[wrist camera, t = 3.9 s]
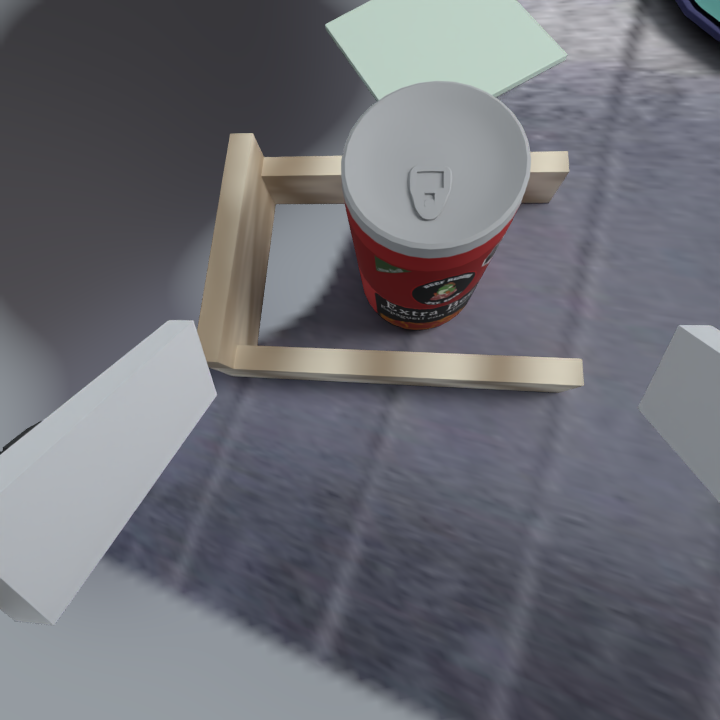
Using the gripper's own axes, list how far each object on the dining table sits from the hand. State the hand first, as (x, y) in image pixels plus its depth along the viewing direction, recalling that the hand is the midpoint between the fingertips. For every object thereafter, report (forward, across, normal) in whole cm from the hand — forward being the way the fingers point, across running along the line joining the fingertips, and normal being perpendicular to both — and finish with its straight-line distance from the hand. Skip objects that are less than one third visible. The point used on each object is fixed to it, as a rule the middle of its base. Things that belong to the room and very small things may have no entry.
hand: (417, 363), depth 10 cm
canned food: (+16, +1, -3) cm, 16 cm away
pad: (+30, +2, +12) cm, 32 cm away
